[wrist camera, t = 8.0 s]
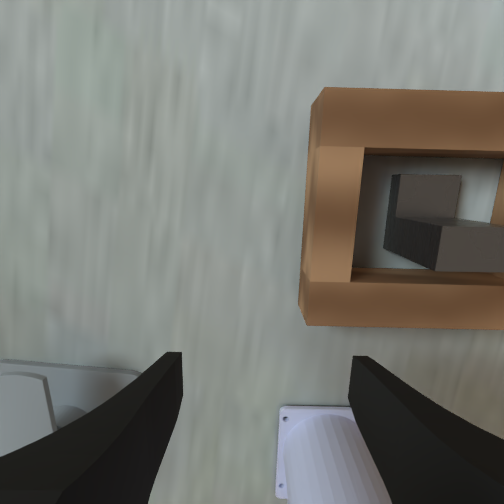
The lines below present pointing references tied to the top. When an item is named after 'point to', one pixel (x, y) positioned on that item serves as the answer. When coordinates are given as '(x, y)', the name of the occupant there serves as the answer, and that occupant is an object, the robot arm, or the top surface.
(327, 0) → the top surface
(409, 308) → the well block
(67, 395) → the shower valve
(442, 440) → the robot arm
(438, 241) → the grey l-shaped block
